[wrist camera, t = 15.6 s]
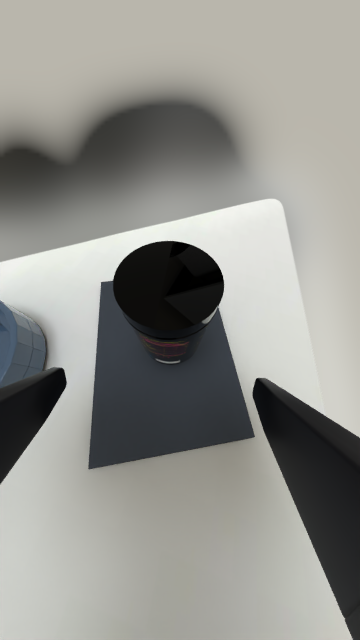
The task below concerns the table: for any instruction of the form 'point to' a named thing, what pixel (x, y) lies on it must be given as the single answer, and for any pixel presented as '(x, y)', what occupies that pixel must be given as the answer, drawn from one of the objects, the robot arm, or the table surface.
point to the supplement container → (168, 297)
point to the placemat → (161, 394)
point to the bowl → (19, 346)
